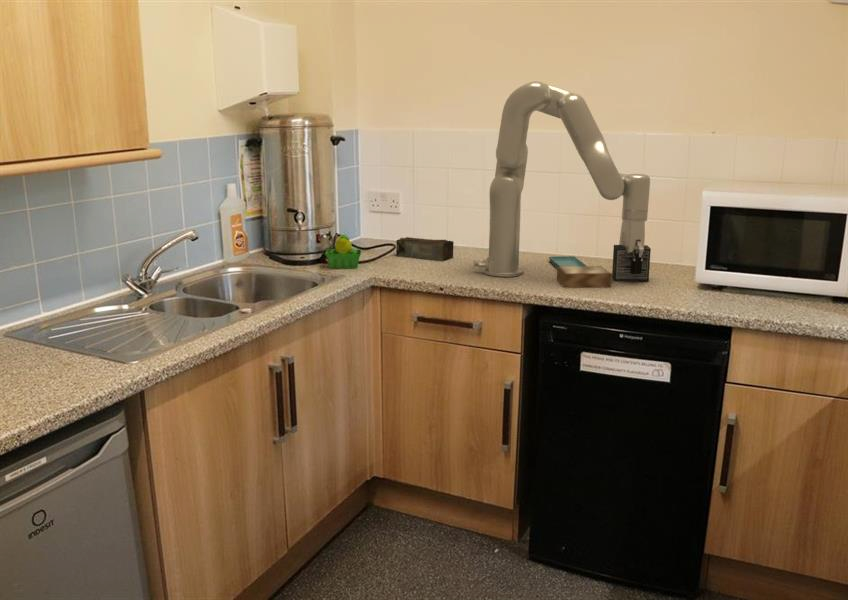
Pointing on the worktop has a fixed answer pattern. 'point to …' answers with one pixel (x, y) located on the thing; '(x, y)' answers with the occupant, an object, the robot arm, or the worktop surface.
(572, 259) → the shallow long dish
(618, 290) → the worktop surface
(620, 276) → the small box
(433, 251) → the dark rectangular box
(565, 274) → the brown rectangular tray
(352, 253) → the fruit basket
